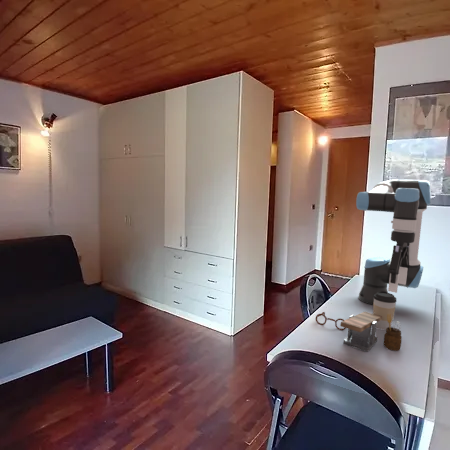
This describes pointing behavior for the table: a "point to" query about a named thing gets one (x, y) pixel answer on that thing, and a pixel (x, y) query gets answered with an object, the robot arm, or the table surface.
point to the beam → (361, 321)
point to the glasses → (328, 319)
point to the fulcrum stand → (362, 338)
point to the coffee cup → (384, 308)
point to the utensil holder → (392, 337)
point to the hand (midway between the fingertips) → (397, 287)
